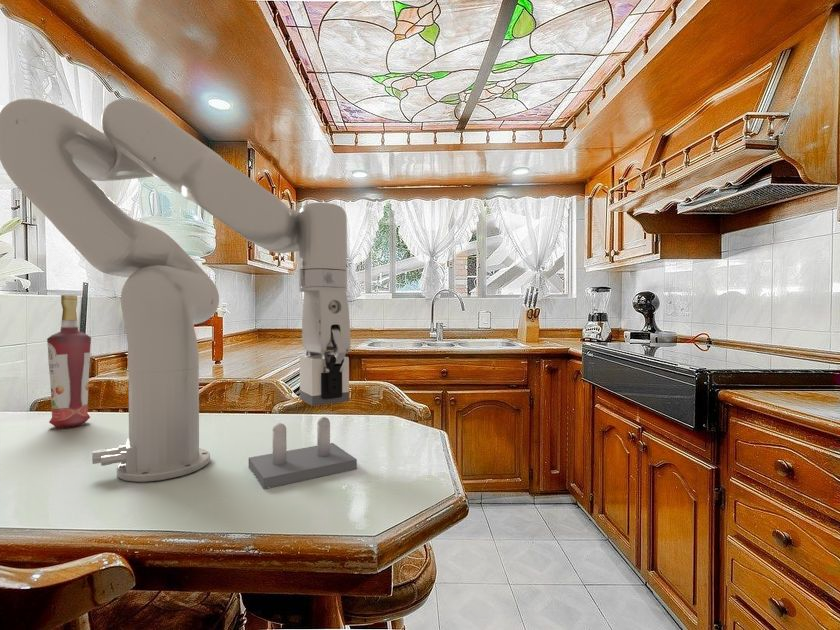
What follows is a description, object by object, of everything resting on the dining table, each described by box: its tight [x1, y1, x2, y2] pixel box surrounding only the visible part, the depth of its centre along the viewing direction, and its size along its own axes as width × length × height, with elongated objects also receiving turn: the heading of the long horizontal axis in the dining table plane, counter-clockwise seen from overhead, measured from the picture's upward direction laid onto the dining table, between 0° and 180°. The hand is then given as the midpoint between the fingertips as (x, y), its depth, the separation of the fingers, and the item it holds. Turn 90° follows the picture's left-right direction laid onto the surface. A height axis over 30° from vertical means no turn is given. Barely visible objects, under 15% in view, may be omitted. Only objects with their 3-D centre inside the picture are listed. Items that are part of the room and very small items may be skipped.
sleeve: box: [299, 354, 350, 407], centre depth 70 cm, size 6×6×7 cm
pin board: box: [248, 416, 358, 489], centre depth 68 cm, size 14×10×8 cm
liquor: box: [46, 294, 92, 429], centre depth 93 cm, size 7×7×28 cm
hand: (324, 393), depth 70 cm, fingers closed on sleeve, 6 cm apart
